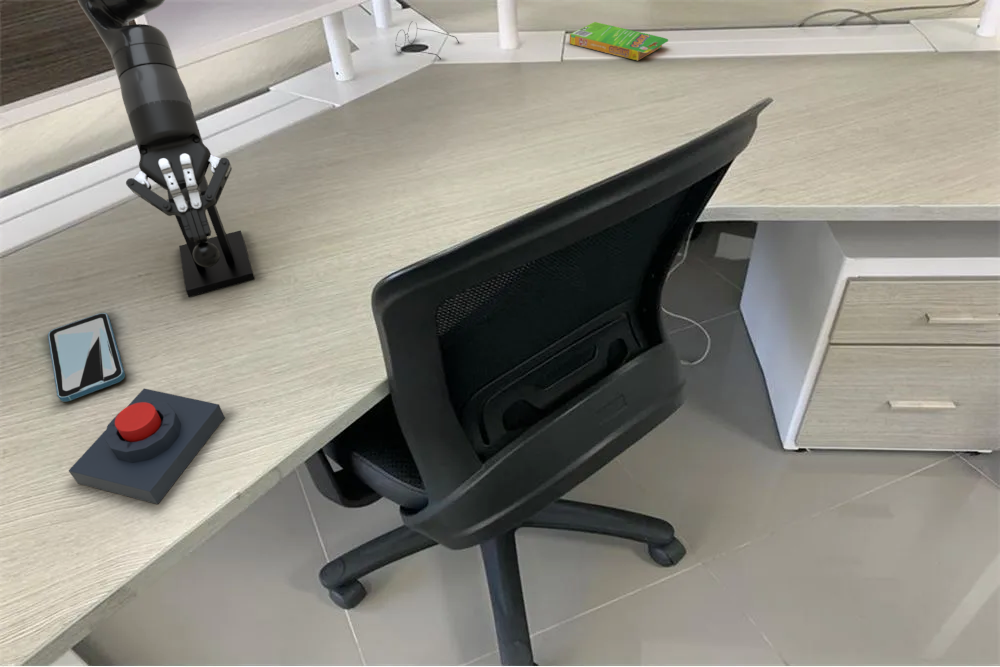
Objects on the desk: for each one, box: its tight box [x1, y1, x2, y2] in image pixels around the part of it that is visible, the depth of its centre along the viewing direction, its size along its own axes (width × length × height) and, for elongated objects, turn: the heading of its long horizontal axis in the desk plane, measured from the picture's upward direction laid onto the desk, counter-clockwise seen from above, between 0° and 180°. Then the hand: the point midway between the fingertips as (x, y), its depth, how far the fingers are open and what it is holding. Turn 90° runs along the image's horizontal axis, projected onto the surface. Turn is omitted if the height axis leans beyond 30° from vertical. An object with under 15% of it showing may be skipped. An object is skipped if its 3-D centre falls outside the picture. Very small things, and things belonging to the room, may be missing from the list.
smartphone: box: [47, 312, 126, 403], centre depth 87 cm, size 7×1×15 cm
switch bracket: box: [166, 176, 256, 298], centre depth 97 cm, size 12×9×13 cm
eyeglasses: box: [394, 22, 460, 61], centre depth 161 cm, size 11×13×5 cm
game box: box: [569, 21, 669, 62], centre depth 157 cm, size 3×10×20 cm
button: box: [115, 402, 161, 442], centre depth 73 cm, size 4×4×2 cm
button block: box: [68, 388, 225, 505], centre depth 75 cm, size 12×10×4 cm
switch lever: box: [182, 188, 220, 267], centre depth 92 cm, size 13×3×3 cm, turn 23°
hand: (201, 241), depth 88 cm, fingers closed
